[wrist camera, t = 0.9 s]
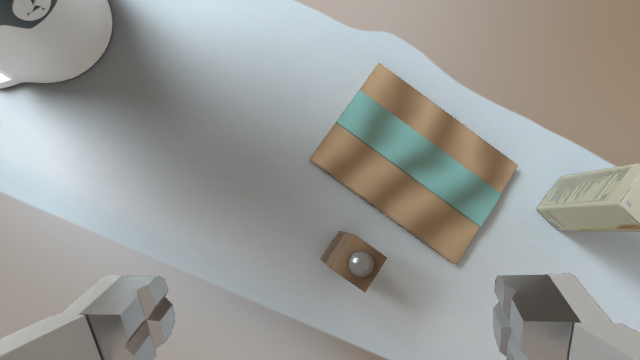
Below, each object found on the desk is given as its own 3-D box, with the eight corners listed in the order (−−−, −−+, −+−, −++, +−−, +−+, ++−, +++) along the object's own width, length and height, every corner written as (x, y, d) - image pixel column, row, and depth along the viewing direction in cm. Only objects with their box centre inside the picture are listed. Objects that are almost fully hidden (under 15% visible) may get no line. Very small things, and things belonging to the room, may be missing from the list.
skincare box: (557, 231, 51) (646, 236, 39) (534, 208, 51) (615, 206, 39) (586, 195, 52) (681, 189, 40) (562, 173, 52) (651, 159, 40)
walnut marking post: (320, 258, 47) (332, 269, 37) (338, 231, 47) (356, 234, 37) (347, 277, 47) (366, 293, 37) (365, 250, 48) (389, 258, 38)
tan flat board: (309, 159, 48) (310, 158, 46) (376, 66, 50) (379, 61, 48) (452, 263, 49) (458, 264, 47) (512, 166, 51) (519, 165, 49)
